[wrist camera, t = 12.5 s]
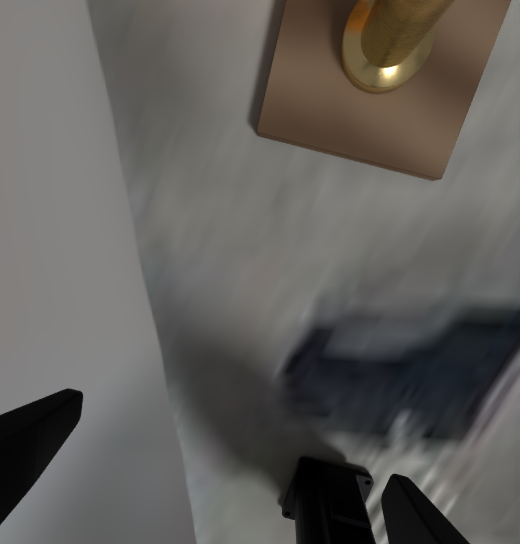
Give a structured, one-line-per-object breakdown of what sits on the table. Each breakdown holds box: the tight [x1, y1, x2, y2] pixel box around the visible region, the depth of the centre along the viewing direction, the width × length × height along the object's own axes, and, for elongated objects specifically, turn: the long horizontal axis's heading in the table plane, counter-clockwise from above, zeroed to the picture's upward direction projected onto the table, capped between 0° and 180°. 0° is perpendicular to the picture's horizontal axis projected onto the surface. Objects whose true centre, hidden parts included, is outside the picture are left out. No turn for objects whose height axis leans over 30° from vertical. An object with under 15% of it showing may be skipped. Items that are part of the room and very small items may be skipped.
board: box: [257, 0, 511, 181], centre depth 16 cm, size 12×12×1 cm
